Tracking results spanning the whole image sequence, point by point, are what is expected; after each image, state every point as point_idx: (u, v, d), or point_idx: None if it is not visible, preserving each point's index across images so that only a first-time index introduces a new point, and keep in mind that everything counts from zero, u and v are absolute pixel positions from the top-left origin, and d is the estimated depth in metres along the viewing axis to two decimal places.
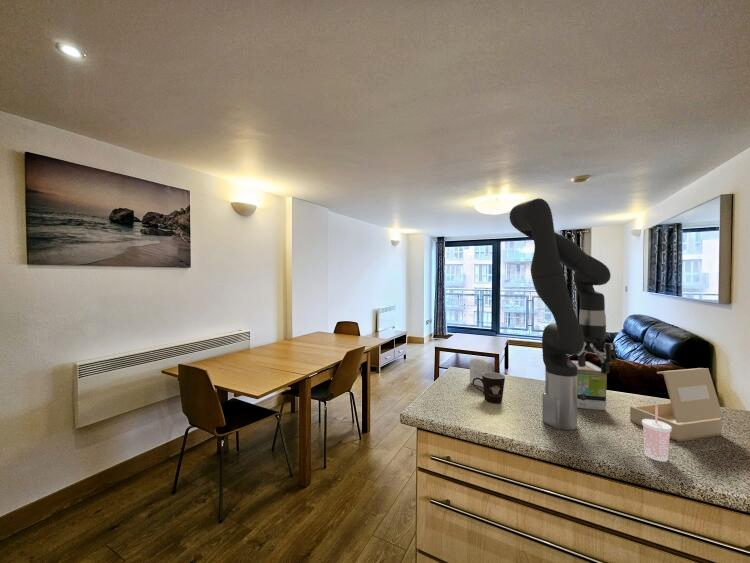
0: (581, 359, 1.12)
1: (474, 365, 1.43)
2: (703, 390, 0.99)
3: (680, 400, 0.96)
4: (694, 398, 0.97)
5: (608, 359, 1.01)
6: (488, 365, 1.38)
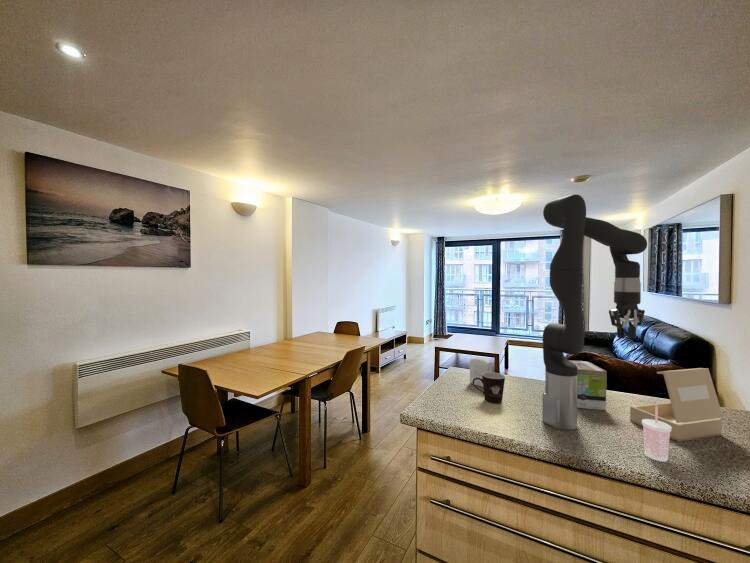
0: None
1: (474, 365, 1.43)
2: (703, 390, 0.99)
3: (680, 400, 0.96)
4: (694, 398, 0.97)
5: (640, 323, 1.14)
6: (488, 365, 1.38)
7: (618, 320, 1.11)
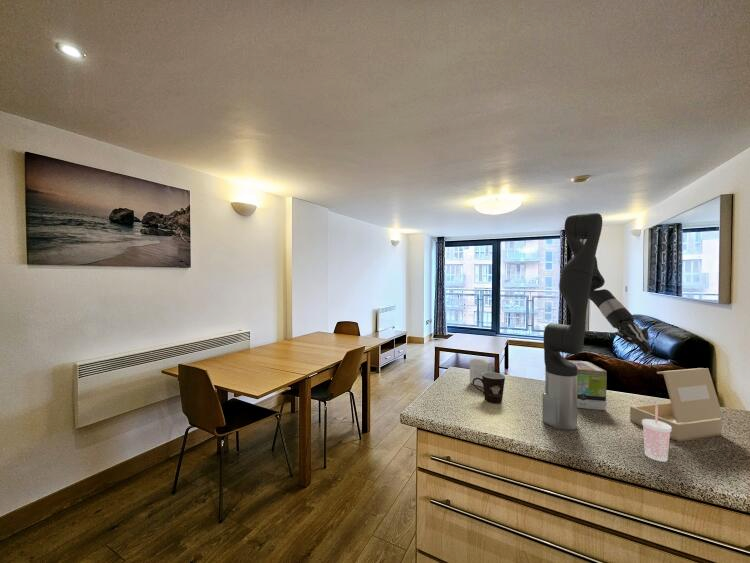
0: None
1: (474, 365, 1.43)
2: (703, 390, 0.99)
3: (680, 400, 0.96)
4: (694, 398, 0.97)
5: (646, 337, 1.13)
6: (488, 365, 1.38)
7: (630, 335, 1.13)
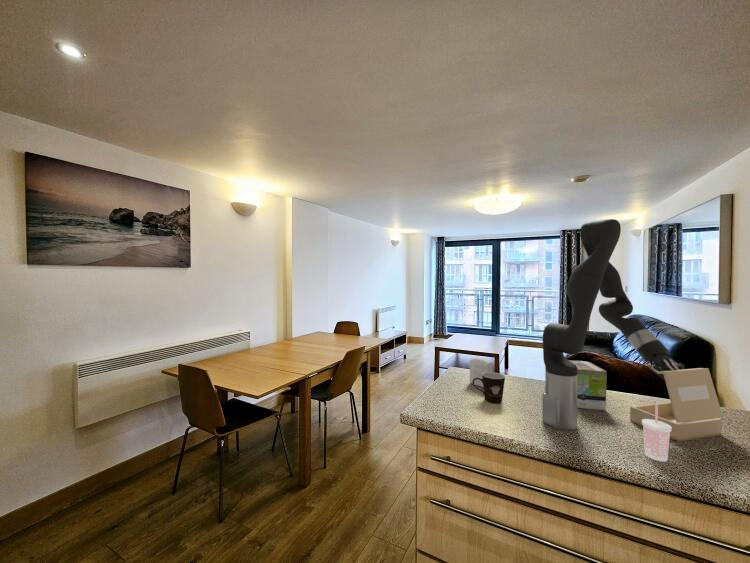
0: None
1: (474, 365, 1.43)
2: (703, 390, 0.99)
3: (680, 400, 0.96)
4: (694, 398, 0.97)
5: None
6: (488, 365, 1.38)
7: None
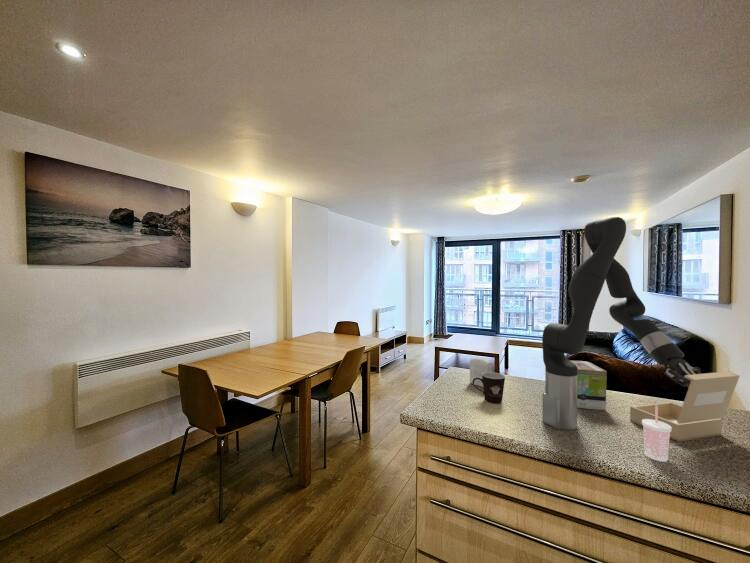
0: None
1: (474, 365, 1.43)
2: (720, 395, 0.95)
3: (692, 405, 0.93)
4: (707, 403, 0.94)
5: None
6: (488, 365, 1.38)
7: (682, 377, 0.97)
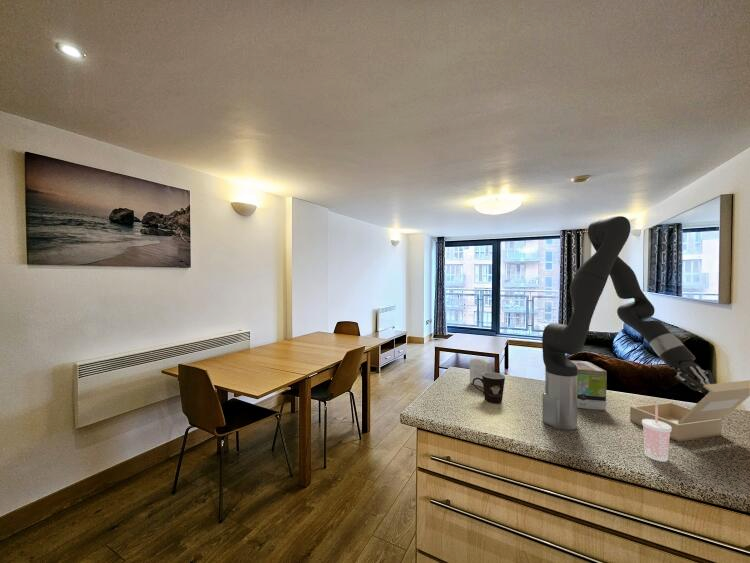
0: None
1: (474, 365, 1.43)
2: (731, 402, 0.92)
3: (700, 410, 0.91)
4: (715, 408, 0.92)
5: (712, 382, 0.95)
6: (488, 365, 1.38)
7: (694, 381, 0.95)
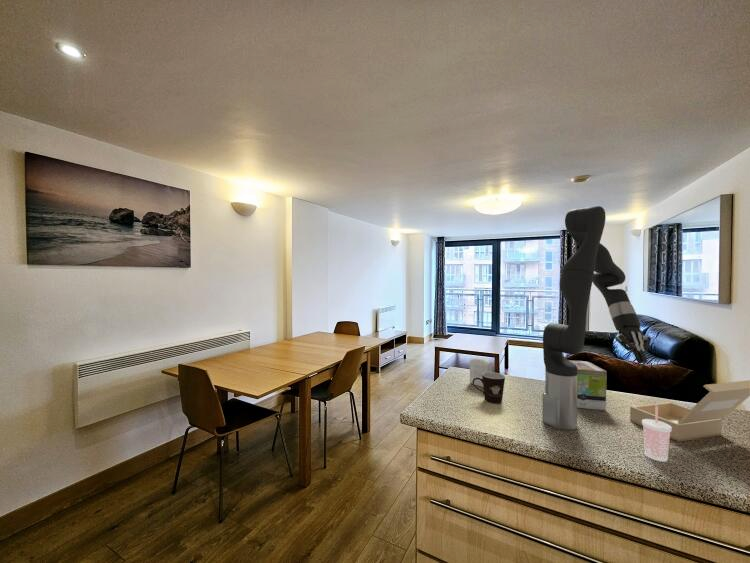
0: None
1: (474, 365, 1.43)
2: (731, 402, 0.92)
3: (700, 410, 0.91)
4: (715, 408, 0.92)
5: (646, 346, 1.11)
6: (488, 365, 1.38)
7: (629, 343, 1.10)
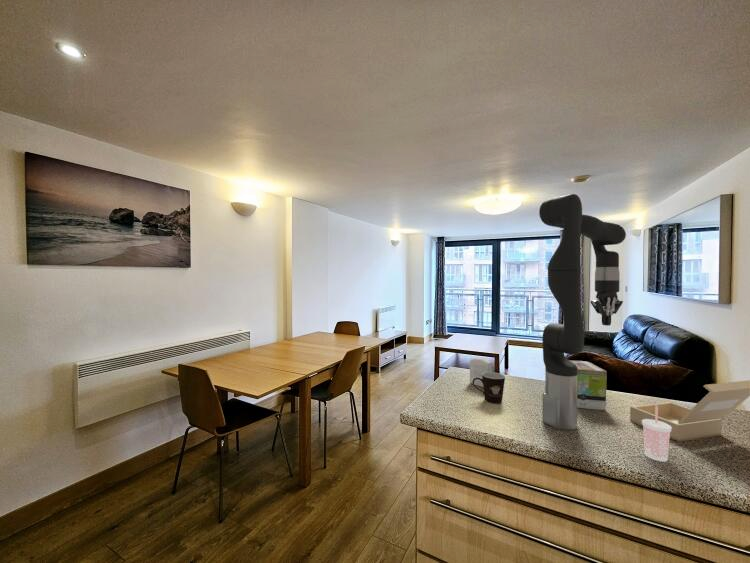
0: None
1: (474, 365, 1.43)
2: (731, 402, 0.92)
3: (700, 410, 0.91)
4: (715, 408, 0.92)
5: (615, 311, 1.18)
6: (488, 365, 1.38)
7: (601, 309, 1.17)
